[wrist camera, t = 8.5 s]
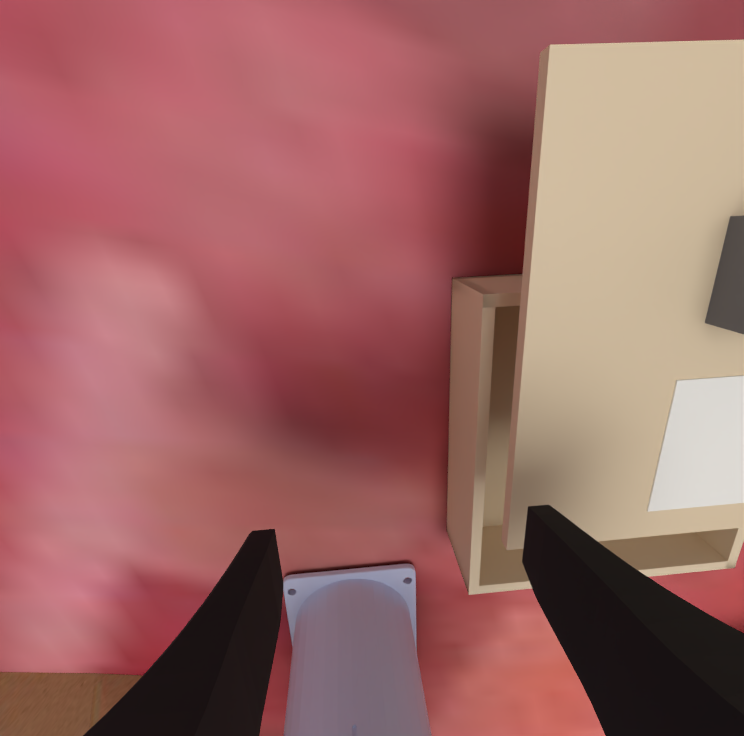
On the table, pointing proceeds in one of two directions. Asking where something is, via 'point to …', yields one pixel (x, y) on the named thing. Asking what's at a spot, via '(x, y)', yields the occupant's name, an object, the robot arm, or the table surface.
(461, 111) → the table surface
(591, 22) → the table surface
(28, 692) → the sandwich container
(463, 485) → the carton
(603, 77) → the carton lid
